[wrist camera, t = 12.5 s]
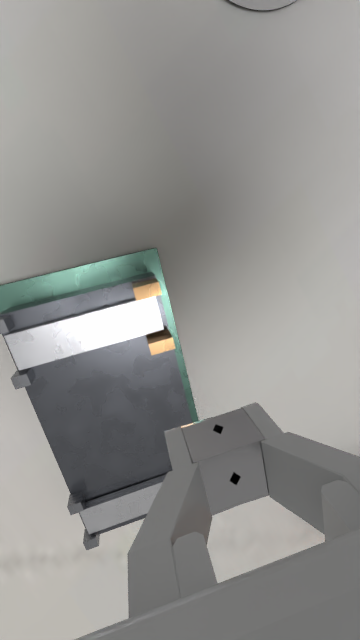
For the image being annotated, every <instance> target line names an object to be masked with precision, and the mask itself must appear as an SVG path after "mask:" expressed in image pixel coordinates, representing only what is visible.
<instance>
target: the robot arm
mask: <svg viewBox="0 0 360 640" xmlns="http://www.w3.org/2000/svg"><path fill="white" fill-rule="evenodd" d="M230 1H231V2H233V3H235V4H237V5H240V6H242V7H246V8H249V9H255V10H272V9H278V8H281V7H284V6H286V5H289V4H291V3H293V2H295V1H296V0H230ZM164 434H165V439H166V443H167V448H168V452H169V457H170V461H171V465H172V470H173V471H170V472H168V473H167V475H166V477H165V479H164V481H163V483H162V485H161V487H160V489H159V491H158V493H157V495H156V497H155V499H154V501H153V503H152V505H151V507H150V509H149V511H148V513H147V515H146V518H145V520H144V522H143V524H142V526H141V528H140V530H139V532H138V534H137V536H136V538H135V540H134V542H133V544H132V546H131V548H130V550H129V552H128V602H129V618H128V619H126V620H123V621H121V622H118V623H115V624H113V625H110V626H108V627H105V628H103V629H100V630H98V631H95V632H92V633H90V634H87V635H85V636H82V637H80V638H77V639H74V640H360V457H359V456H356V455H353V454H350V453H347V452H344V451H341V450H339V449H336V448H333V447H330V446H327V445H324V444H322V443H319V442H316V441H313V440H310V439H307V438H304V437H302V436H299V435H296V434H293V433H290V432H287V433H283V432H282V430H281V429H280V428H279V427H278V426H277V425H276V423H275V422H274V421H273V420H272V419H271V418H270V416H269V415H268V414H267V413H266V412H265V411H264V409H263V408H262V407H261V406H260V405H259V404H258V403H256V402H255V403H252V404H250V405H247V406H244V407H241V408H240V409H237V410H234V411H230V412H227V413H224V414H221V415H218V416H215V417H211V418H207V419H204V420H200V421H197V422H193V423H190V424H187V425H183V426H181V427H177V428H173V429H170V430H167V431H165V433H164ZM268 495H270V497H271V498H272V499H274V500H275V501H277V502H278V503H280V504H281V505H283V506H284V507H285V508H287V509H288V510H290V511H291V512H293V513H294V514H296V515H297V516H299V517H300V518H302V519H303V520H304V521H306V522H307V523H309V524H310V525H312V526H313V527H315V528H316V529H318V530H319V531H321V532H322V533H323V534H325V542H324V543H321V544H319V545H316V546H313V547H311V548H308V549H306V550H303V551H301V552H298V553H295V554H293V555H290V556H288V557H285V558H283V559H280V560H277V561H275V562H272V563H270V564H267V565H265V566H262V567H259V568H257V569H254V570H252V571H249V572H247V573H244V574H241V575H239V576H236V577H234V578H231V579H229V580H226V581H223V582H221V583H218V584H217V580H216V577H215V573H214V570H213V566H212V563H211V560H210V556H209V553H208V549H207V546H206V545H207V540H208V536H209V531H210V526H211V521H212V515H215V514H217V513H220V512H223V511H225V510H228V509H230V508H233V507H235V506H238V505H240V504H244V503H247V502H250V501H253V500H256V499H259V498H262V497H265V496H268Z"/></svg>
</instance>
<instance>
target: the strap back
mask: <svg viewBox="0 0 360 640" xmlns="http://www.w3.org/2000/svg"><path fill="white" fill-rule="evenodd" d="M166 475H167V474H166ZM166 475H163V476H160V477H157V478H154V479H151V480H148V481H145V482H143V483H140V484H137V485H134V486H131V487H128V488H125V489H123V490H120V491H117V492H114V493H111V494H108V495H105V496H102V497H100V498H97V499H94V500H91V501H88V502H85V506H84V511H81V512H80V515H81V517H82V519H83V522H84V524H85V526H86V529H87V531H88V533H89V534H92V533H94V532H97V531H100V530H103V529H105V528H108V527H111V526H114V525H116V524H119V523H122V522H125V521H127V520H130V519H133V518H136V517H138V516H141V515H144V514H147V513H148V511H149V509H150V507H151V505H152V503H153V501H154V499H155V497H156V495H157V493H158V491H159V489H160V487H161V485H162V483H163V481H164V479H165V477H166Z"/></svg>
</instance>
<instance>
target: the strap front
mask: <svg viewBox="0 0 360 640" xmlns="http://www.w3.org/2000/svg"><path fill="white" fill-rule="evenodd" d="M161 330H164V327H163V323H162V319H161V315H160V312H159V308H158V304H157V300H156V296H154V297H150V298H146V299H143V300H139V301H136V299H134V300H131V301H127V302H123V303H119V304H115V305H112V306H108V307H104V308H100V309H97V310H93V311H89V312H85V313H81V314H78V315H74V316H70V317H66V318H63V319H59V320H55V321H51V322H48V323H44V324H40V325H36V326H32V327H29V328H25V329H21V330H17V331H14V332H10V333H7V334H6V335H5V336H4V337H5V339H6V342H7V344H8V346H9V349H10V351H11V353H12V356H13V358H14V360H15V363H16V365H17V367H18V370H23V369H27V368H30V367H34V366H37V365H41V364H44V363H48V362H51V361H55V360H58V359H62V358H65V357H69V356H72V355H76V354H79V353H83V352H86V351H90V350H94V349H97V348H101V347H104V346H108V345H111V344H115V343H118V342H122V341H125V340H129V339H132V338H136V337H139V336H143V335H146V334H150V333H154V332H157V331H161Z"/></svg>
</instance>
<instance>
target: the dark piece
mask: <svg viewBox="0 0 360 640" xmlns="http://www.w3.org/2000/svg"><path fill="white" fill-rule="evenodd" d="M154 296H156V300H157V304H158V308H159V312H160V315H161V319H162V323H163V327H164V330H161V331H157V332H154V333H150V334H146V335H143V336H139V337H136V338H132V339H129V340H125V341H122V342H118V343H115V344H111V345H108V346H104V347H101V348H97V349H94V350H90V351H86V352H83V353H79V354H76V355H72V356H69V357H65V358H62V359H58V360H55V361H51V362H48V363H44V364H41V365H37V366H34V367H30V368H27V369H23V370H18V367H17V365H16V363H15V360H14V358H13V356H12V353H11V351H10V349H9V346H8V344H7V342H6V339H5V337H4V336H5V335H6V334H7V333H10V332H14V331H17V330H21V329H25V328H29V327H32V326H36V325H40V324H44V323H48V322H51V321H55V320H59V319H63V318H66V317H70V316H74V315H78V314H81V313H85V312H89V311H93V310H97V309H100V308H104V307H108V306H112V305H115V304H119V303H123V302H127V301H131V300H134V299H136V301H139V300H143V299H146V298H150V297H154ZM0 334H2V335H3V337H4V339H5V342H6V344H7V346H8V349H9V351H10V353H11V356H12V358H13V360H14V363H15V365H16V367H17V370H18V371H16V372H15V374H14V375H13V376H12V377H11V380H12V382H13V385H14V387H15V389H19V388H22V387H25V388H26V391H27V393H28V395H29V398H30V400H31V402H32V405H33V407H34V409H35V412H36V414H37V416H38V419H39V421H40V423H41V426H42V428H43V430H44V433H45V435H46V437H47V440H48V442H49V444H50V447H51V449H52V451H53V454H54V456H55V458H56V461H57V463H58V465H59V468H60V470H61V472H62V475H63V477H64V479H65V482H66V484H67V486H68V489H69V491H70V493H71V494H70V496H69V501H68V506H67V507H68V510H69V512H70V514H71V515H72V514H75V513H78V512H79V514H80V512H81V511H84V506H85V502H88V501H91V500H94V499H97V498H100V497H102V496H105V495H108V494H111V493H114V492H117V491H120V490H123V489H125V488H128V487H131V486H134V485H137V484H140V483H143V482H145V481H148V480H151V479H154V478H157V477H160V476H163V475H166V474H167V473H168V472H170V471H173V470H172V465H171V461H170V457H169V452H168V448H167V443H166V439H165V434H164V433H165V431H167V430H170V429H173V428H177V427H181V426H183V425H187V424H190V423H193V422H197V421H198V417H197V413H196V408H195V404H194V400H193V396H192V392H191V388H190V384H189V380H188V375H187V371H186V367H185V363H184V359H183V355H182V351H181V347H180V343H179V338H178V334H177V330H176V326H175V322H174V318H173V314H172V310H171V305H170V301H169V297H168V293H167V289H166V285H165V281H164V277H163V272H162V268H161V264H160V260H159V256H158V252H157V248H152V249H148V250H144V251H140V252H136V253H132V254H128V255H123V256H119V257H115V258H111V259H107V260H103V261H99V262H95V263H90V264H86V265H82V266H78V267H74V268H70V269H66V270H62V271H57V272H53V273H49V274H45V275H41V276H37V277H33V278H28V279H24V280H20V281H16V282H12V283H8V284H4V285H0ZM146 515H147V514H144V515H141V516H138V517H136V518H133V519H130V520H127V521H125V522H122V523H119V524H116V525H114V526H111V527H108V528H105V529H103V530H100V531H97V532H94V533H92V534H89V533H88V531H87V529H85V533H84V541H83V544H84V546H85V548H86V550H89V549H91V548H94V547H97V546H99V536H100V534H101V533H104V532H107V531H110V530H112V529H115V528H118V527H121V526H124V525H126V524H129V523H132V522H135V521H138V520H140V519H143V518H146ZM80 517H81V515H80ZM81 519H82V517H81ZM82 521H83V519H82ZM83 524H84V522H83ZM84 526H85V524H84ZM85 528H86V526H85Z"/></svg>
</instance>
